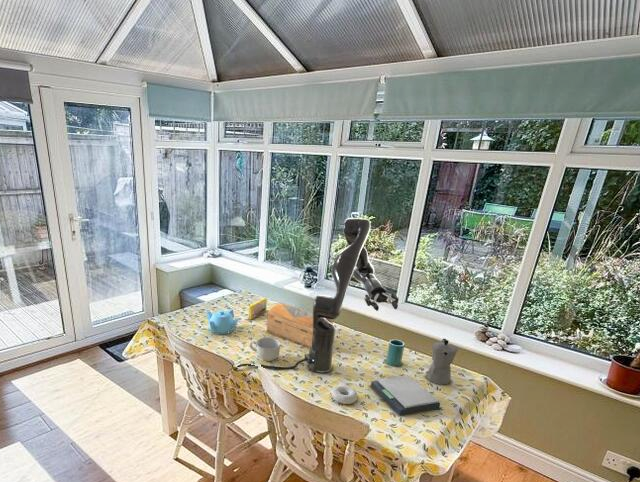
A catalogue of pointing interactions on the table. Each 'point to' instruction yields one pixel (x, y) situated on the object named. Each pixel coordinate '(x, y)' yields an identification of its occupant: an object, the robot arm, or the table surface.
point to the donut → (344, 399)
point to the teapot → (222, 321)
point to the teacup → (266, 348)
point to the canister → (395, 352)
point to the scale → (405, 395)
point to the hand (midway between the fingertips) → (387, 308)
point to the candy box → (257, 308)
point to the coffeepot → (441, 362)
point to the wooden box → (291, 323)
